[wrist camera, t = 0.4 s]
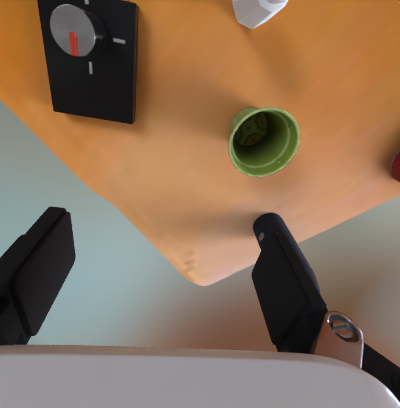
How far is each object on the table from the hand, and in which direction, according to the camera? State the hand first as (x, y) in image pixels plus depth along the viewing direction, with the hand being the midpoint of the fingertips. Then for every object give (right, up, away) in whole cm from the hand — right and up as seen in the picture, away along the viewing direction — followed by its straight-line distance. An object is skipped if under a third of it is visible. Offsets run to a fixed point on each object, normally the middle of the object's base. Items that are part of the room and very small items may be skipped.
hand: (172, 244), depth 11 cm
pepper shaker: (+8, +27, +18) cm, 34 cm away
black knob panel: (-13, +21, +21) cm, 32 cm away
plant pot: (+9, +14, +27) cm, 32 cm away
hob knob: (-12, +23, +17) cm, 31 cm away
